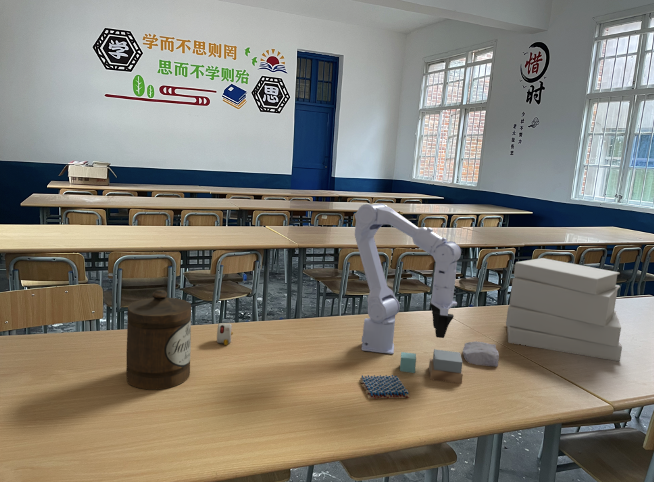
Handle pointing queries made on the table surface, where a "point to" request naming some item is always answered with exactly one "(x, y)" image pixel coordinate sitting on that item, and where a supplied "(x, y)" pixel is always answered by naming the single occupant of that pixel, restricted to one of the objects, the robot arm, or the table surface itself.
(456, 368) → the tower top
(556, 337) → the book stack
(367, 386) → the woven mat
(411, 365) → the teal cube
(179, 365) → the wooden container
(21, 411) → the table surface
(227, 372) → the table surface
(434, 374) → the tower base
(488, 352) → the stone block
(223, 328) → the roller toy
